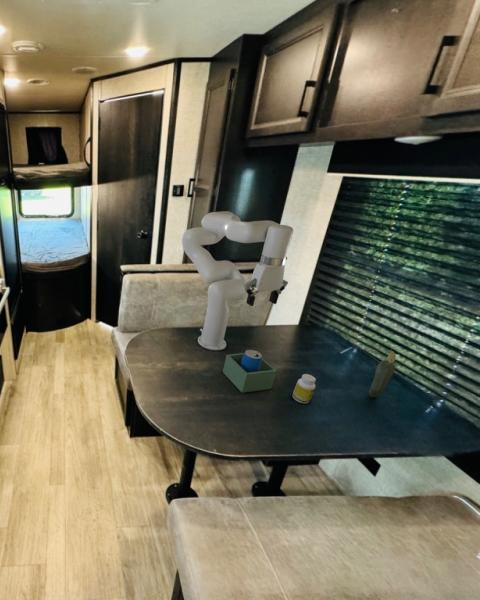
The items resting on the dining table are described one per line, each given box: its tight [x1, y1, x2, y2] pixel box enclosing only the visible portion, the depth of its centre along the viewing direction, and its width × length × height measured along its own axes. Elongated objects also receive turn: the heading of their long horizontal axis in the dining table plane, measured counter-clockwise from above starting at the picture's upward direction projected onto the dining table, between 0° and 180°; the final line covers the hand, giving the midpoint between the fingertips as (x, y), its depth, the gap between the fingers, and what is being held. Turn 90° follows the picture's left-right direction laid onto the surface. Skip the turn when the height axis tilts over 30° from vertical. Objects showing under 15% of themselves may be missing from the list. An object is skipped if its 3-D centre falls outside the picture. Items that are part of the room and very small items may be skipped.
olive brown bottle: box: [368, 349, 397, 398], centre depth 111 cm, size 4×4×20 cm
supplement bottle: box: [291, 373, 317, 404], centre depth 113 cm, size 5×5×10 cm
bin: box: [222, 352, 278, 394], centre depth 123 cm, size 13×13×9 cm
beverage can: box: [240, 349, 263, 373], centre depth 122 cm, size 6×6×12 cm
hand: (261, 303), depth 119 cm, fingers open, 9 cm apart
